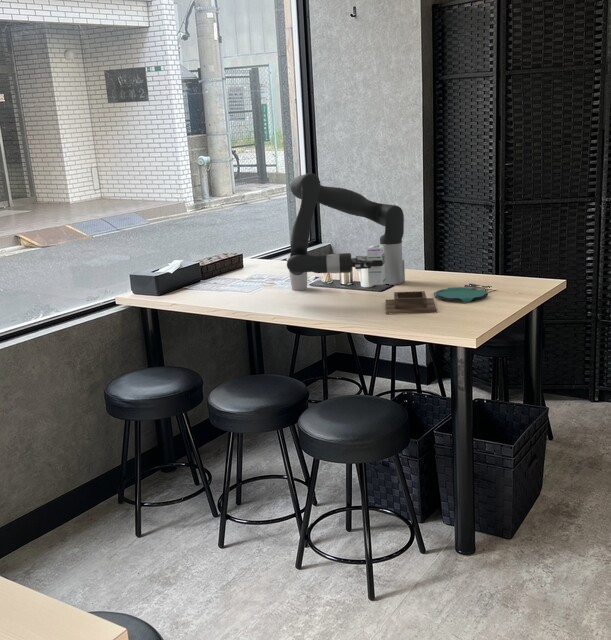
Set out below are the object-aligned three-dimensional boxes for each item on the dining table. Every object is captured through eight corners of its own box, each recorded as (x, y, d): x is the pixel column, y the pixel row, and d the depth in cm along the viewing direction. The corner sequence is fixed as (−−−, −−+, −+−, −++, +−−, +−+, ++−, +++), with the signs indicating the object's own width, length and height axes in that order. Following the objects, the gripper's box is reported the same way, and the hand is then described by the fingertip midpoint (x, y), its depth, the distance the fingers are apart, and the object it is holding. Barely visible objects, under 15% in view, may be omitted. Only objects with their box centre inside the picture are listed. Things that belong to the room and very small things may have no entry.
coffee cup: (285, 291, 327) (283, 256, 323) (291, 286, 336) (289, 252, 332) (307, 291, 324) (305, 255, 321) (312, 286, 333) (310, 251, 330)
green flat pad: (424, 299, 298) (424, 293, 297) (466, 286, 319) (466, 280, 318) (468, 306, 284) (468, 300, 284) (509, 292, 305) (510, 286, 305)
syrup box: (383, 285, 295) (382, 247, 291) (368, 285, 296) (366, 247, 292) (386, 281, 300) (384, 244, 296) (371, 281, 302) (369, 245, 298)
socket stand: (385, 302, 296) (385, 290, 295) (433, 300, 294) (432, 288, 293) (386, 314, 279) (386, 301, 278) (436, 312, 277) (436, 299, 276)
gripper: (337, 257, 289) (382, 255, 288) (339, 250, 303) (382, 248, 302) (338, 276, 291) (383, 274, 290) (340, 269, 305) (382, 267, 303)
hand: (382, 261), depth 296 cm, fingers closed on syrup box, 6 cm apart
